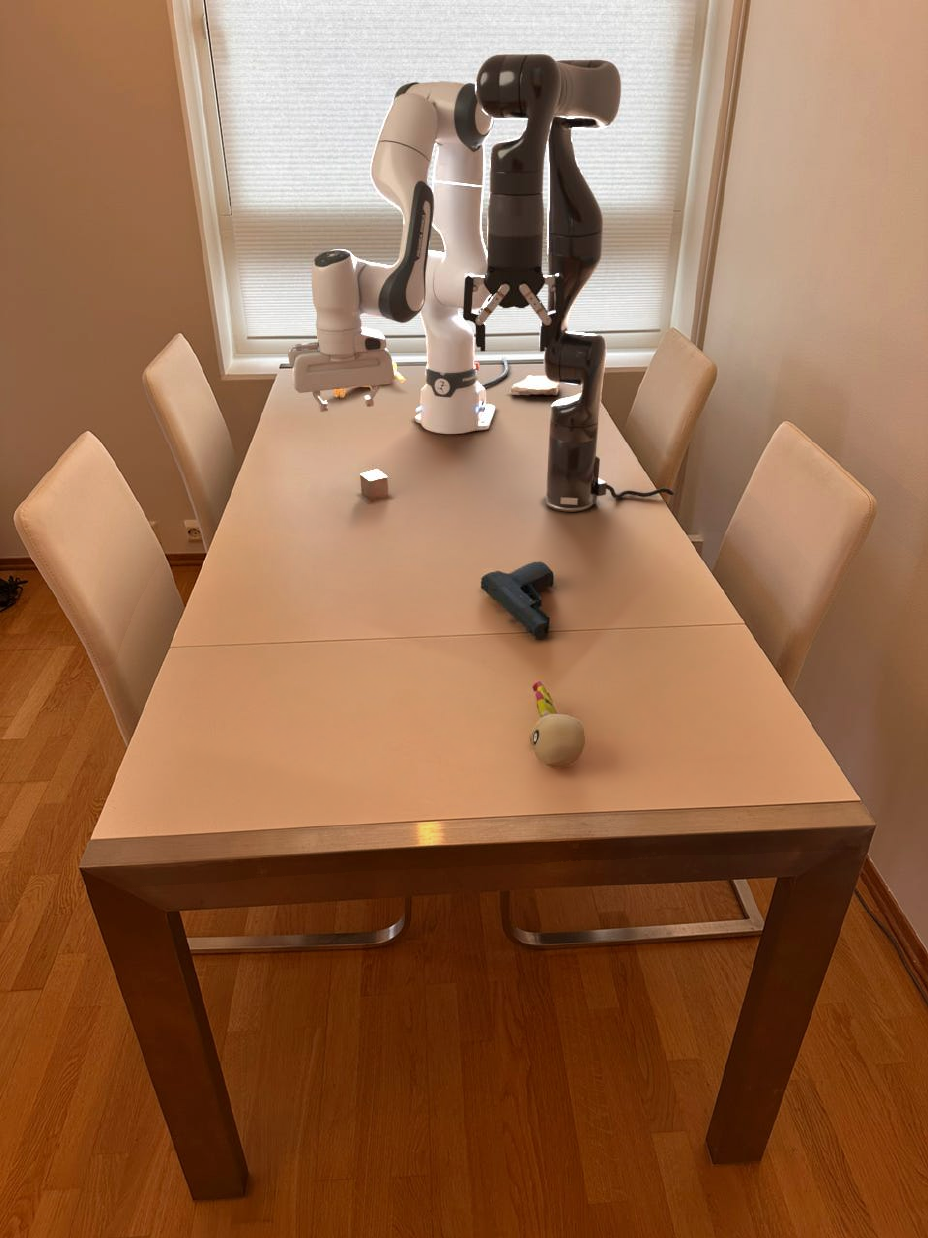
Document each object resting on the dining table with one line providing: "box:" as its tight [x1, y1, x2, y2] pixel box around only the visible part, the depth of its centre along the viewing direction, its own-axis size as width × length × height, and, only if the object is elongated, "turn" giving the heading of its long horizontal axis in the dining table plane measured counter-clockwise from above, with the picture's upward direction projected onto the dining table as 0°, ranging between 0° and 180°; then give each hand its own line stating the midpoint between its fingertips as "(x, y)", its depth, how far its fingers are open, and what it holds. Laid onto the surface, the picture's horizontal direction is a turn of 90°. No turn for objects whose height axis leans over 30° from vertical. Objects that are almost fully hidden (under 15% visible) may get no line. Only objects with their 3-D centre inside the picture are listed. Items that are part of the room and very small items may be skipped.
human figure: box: [333, 361, 408, 398], centre depth 242 cm, size 20×20×4 cm
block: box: [359, 469, 390, 503], centre depth 180 cm, size 4×4×5 cm
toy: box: [529, 680, 586, 769], centre depth 115 cm, size 6×7×15 cm
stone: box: [509, 375, 560, 396], centre depth 238 cm, size 13×12×2 cm
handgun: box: [480, 561, 555, 640], centre depth 143 cm, size 3×18×12 cm
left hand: (346, 408), depth 182 cm, fingers open, 8 cm apart
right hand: (512, 350), depth 129 cm, fingers open, 8 cm apart
